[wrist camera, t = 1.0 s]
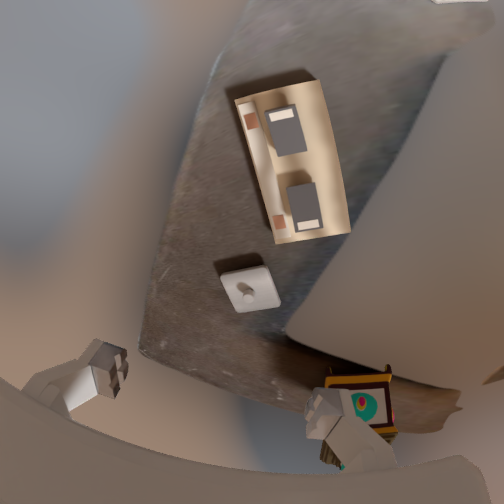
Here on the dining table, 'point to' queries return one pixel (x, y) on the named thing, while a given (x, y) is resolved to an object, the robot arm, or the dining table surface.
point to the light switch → (251, 289)
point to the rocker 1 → (286, 130)
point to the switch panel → (296, 160)
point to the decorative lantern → (364, 405)
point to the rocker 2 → (305, 207)
